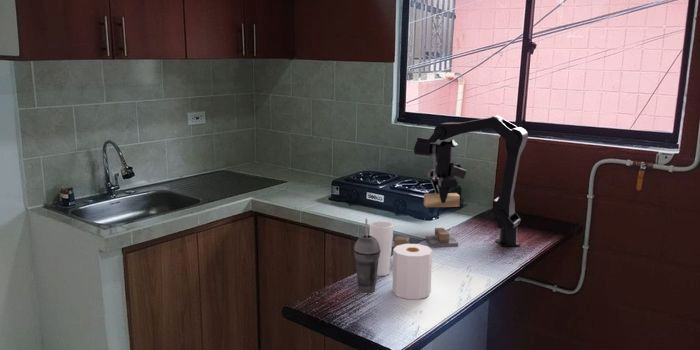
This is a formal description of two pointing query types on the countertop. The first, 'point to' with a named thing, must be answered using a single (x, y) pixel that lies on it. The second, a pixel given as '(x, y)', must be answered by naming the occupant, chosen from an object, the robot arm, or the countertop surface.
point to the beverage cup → (366, 262)
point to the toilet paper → (412, 271)
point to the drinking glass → (383, 244)
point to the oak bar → (435, 200)
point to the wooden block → (401, 240)
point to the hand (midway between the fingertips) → (441, 201)
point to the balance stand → (441, 238)
